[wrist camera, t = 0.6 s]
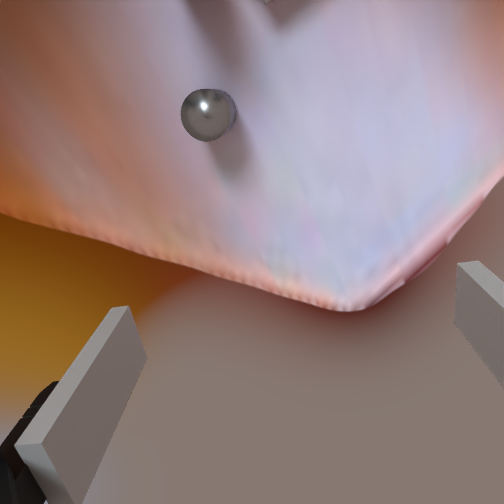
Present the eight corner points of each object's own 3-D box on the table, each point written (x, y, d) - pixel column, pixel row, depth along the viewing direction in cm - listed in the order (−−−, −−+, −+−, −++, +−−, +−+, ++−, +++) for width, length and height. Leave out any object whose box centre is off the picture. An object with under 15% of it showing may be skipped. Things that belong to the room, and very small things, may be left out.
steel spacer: (186, 107, 36) (170, 110, 31) (218, 79, 35) (208, 77, 30) (213, 142, 38) (202, 150, 32) (245, 115, 36) (239, 120, 31)
